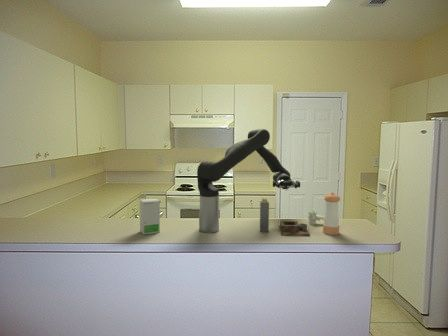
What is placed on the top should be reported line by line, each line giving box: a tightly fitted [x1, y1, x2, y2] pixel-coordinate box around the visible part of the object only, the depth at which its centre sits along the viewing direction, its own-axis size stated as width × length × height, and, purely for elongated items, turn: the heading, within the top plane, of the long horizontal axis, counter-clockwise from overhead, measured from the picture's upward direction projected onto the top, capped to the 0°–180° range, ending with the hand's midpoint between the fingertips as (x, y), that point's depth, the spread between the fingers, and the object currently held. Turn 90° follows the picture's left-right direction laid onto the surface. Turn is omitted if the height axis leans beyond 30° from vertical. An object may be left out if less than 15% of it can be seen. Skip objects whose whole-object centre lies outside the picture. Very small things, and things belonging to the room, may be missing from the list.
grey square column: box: [259, 198, 270, 233], centre depth 152 cm, size 4×4×16 cm
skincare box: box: [139, 198, 161, 236], centre depth 151 cm, size 8×7×16 cm
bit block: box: [278, 220, 311, 237], centre depth 152 cm, size 13×12×4 cm
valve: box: [307, 210, 324, 225], centre depth 164 cm, size 7×7×12 cm
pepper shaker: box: [322, 192, 341, 236], centre depth 150 cm, size 7×7×19 cm
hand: (287, 186), depth 161 cm, fingers open, 8 cm apart
